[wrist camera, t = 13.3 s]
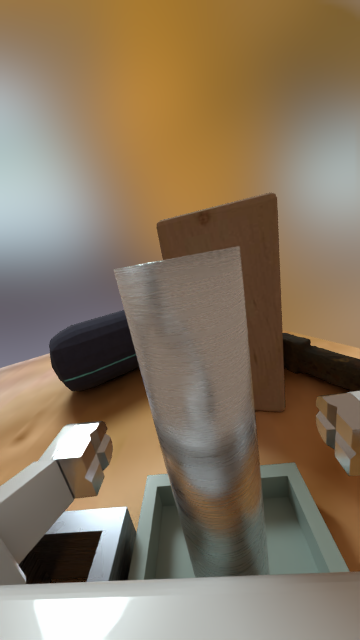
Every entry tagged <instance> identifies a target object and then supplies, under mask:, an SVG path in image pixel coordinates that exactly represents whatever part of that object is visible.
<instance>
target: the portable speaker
mask: <svg viewBox="0 0 360 640" xmlns="http://www.w3.org/2000/svg"><path fill="white" fill-rule="evenodd" d="M49 347H50V358H51V364H52V368H53V369H54V371H55V373H56V374H57V376H58V378H59V379H60V381H62V382H63V383H64V384H65V386H66V387H68V388H69V389H70V390H71V391H81V390H85V389H88V388H92V387H95V386H97V385H100V384H102V383H104V382H106V381H109V380H111V379H113V378H115V377H118V376H120V375H122V374H125V373H127V372H129V371H131V370H134V369H136V368H138V367H139V363H138V360H137V356H136V352H135V348H134V344H133V341H132V337H131V333H130V329H129V326H128V322H127V318H126V314H125V310H122V311H119V312H116V313H112V314H109V315H105V316H102V317H98V318H95V319H91V320H88V321H85V322H81V323H78V324H74V325H71V326H69V327H67V328H66V329H64V330H62V331H60V332H59V333H58V334H57V335H56V336H54V337H53V338H52V339H51V340H50V345H49Z"/></svg>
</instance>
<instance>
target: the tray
mask: <svg viewBox="0 0 360 640" xmlns="http://www.w3.org/2000/svg"><path fill="white" fill-rule="evenodd" d="M260 472H261V483H262V494H263V505H264V516H265V527H266V538H267V549H268V560H269V570H270V575H278V574H305V573H331V572H350V571H349V569H348V567H347V565H346V563H345V561H344V559H343V557H342V555H341V553H340V551H339V549H338V547H337V545H336V543H335V541H334V539H333V538H332V536H331V534H330V532H329V530H328V528H327V526H326V524H325V522H324V520H323V518H322V516H321V514H320V512H319V510H318V508H317V506H316V504H315V502H314V500H313V498H312V496H311V494H310V492H309V490H308V488H307V486H306V484H305V482H304V480H303V478H302V476H301V474H300V472H299V470H298V468H297V466H296V464H295V462H294V463H283V464H272V465H260ZM175 578H195V575H194V571H193V568H192V564H191V560H190V556H189V553H188V549H187V545H186V541H185V537H184V534H183V530H182V526H181V522H180V518H179V515H178V511H177V507H176V503H175V500H174V496H173V492H172V488H171V484H170V481H169V477H168V474H159V475H148V476H147V481H146V486H145V492H144V497H143V502H142V507H141V513H140V518H139V523H138V528H137V534H136V539H135V544H134V549H133V555H132V560H131V565H130V570H129V576H128V580H149V579H175Z"/></svg>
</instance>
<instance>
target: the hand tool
mask: <svg viewBox="0 0 360 640" xmlns="http://www.w3.org/2000/svg"><path fill="white" fill-rule="evenodd" d="M282 336H283V361H284V367H285V368H287V369H288V370H290V371H292V372H294V373H301V372H304V373H308V374H311V375H313V376H316V377H318V378H320V379H323V380H325V381H328V382H330V383H331V384H333V385H338V386H341V387H344V388H346V389H348V390H351V391H353V392H354V391H360V359H357V358H353V357H349V356H345V355H342V354H338V353H335V352H332V351H329V350H325V349H323V348H318V347H316V346H311V345H310V343H311V342H310V340H309V339H306V338H302V337H297V336H294V335H290V334H288V333H282Z"/></svg>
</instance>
